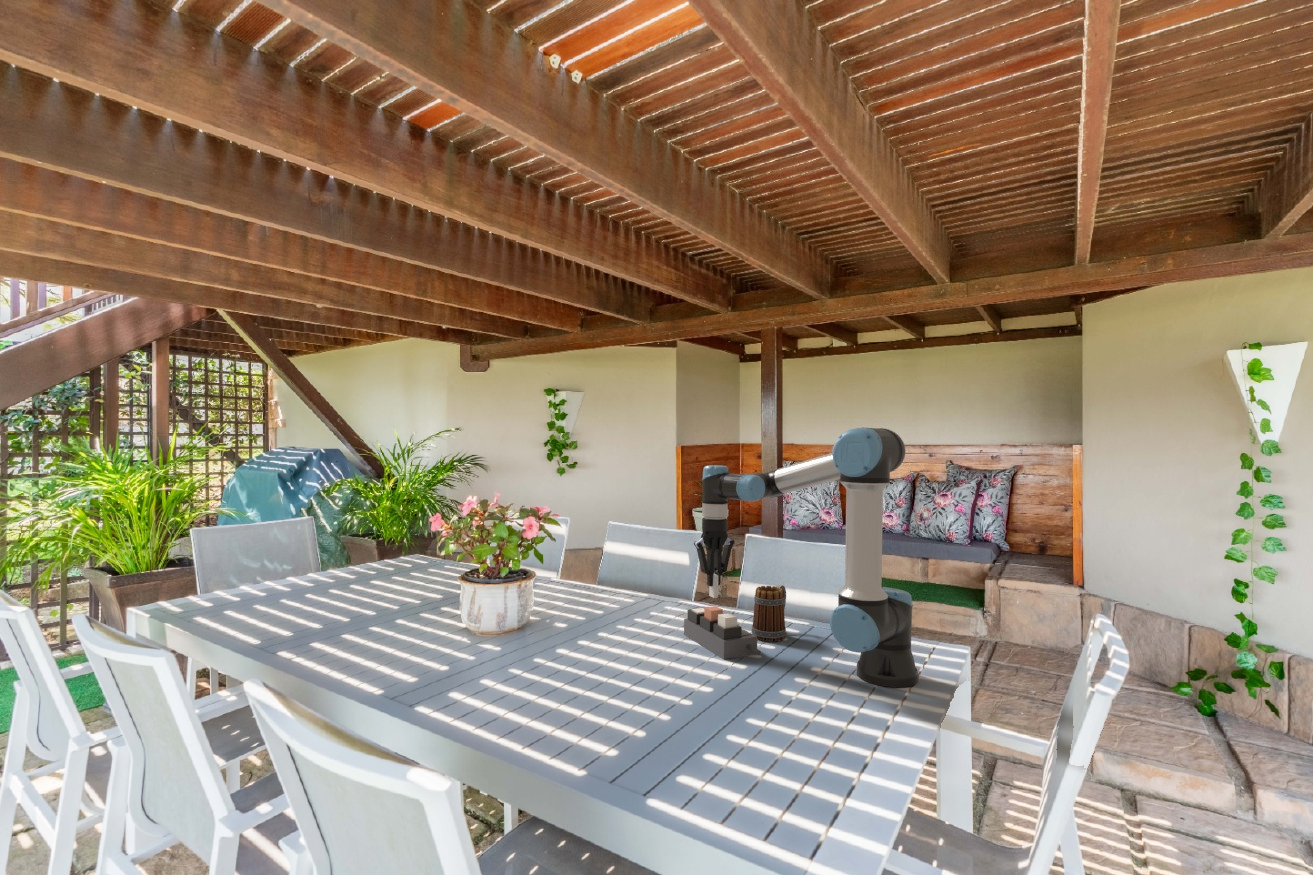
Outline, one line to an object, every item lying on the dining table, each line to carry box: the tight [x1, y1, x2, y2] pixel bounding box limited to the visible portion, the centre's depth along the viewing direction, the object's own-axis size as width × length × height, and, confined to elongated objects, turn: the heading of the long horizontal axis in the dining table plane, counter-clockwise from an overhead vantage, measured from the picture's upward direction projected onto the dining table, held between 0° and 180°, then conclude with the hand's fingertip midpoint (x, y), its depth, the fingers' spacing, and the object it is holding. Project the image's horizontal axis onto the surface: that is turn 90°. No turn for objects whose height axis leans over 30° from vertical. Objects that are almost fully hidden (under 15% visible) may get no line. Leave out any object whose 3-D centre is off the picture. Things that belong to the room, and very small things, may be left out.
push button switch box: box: [683, 608, 762, 660], centre depth 192 cm, size 30×11×8 cm, turn 25°
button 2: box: [703, 606, 724, 621], centre depth 194 cm, size 4×4×3 cm
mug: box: [751, 584, 787, 643], centre depth 204 cm, size 16×11×15 cm
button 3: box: [691, 607, 705, 614], centre depth 201 cm, size 4×4×3 cm
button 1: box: [718, 612, 738, 628], centre depth 187 cm, size 4×4×3 cm
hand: (713, 596), depth 194 cm, fingers closed
